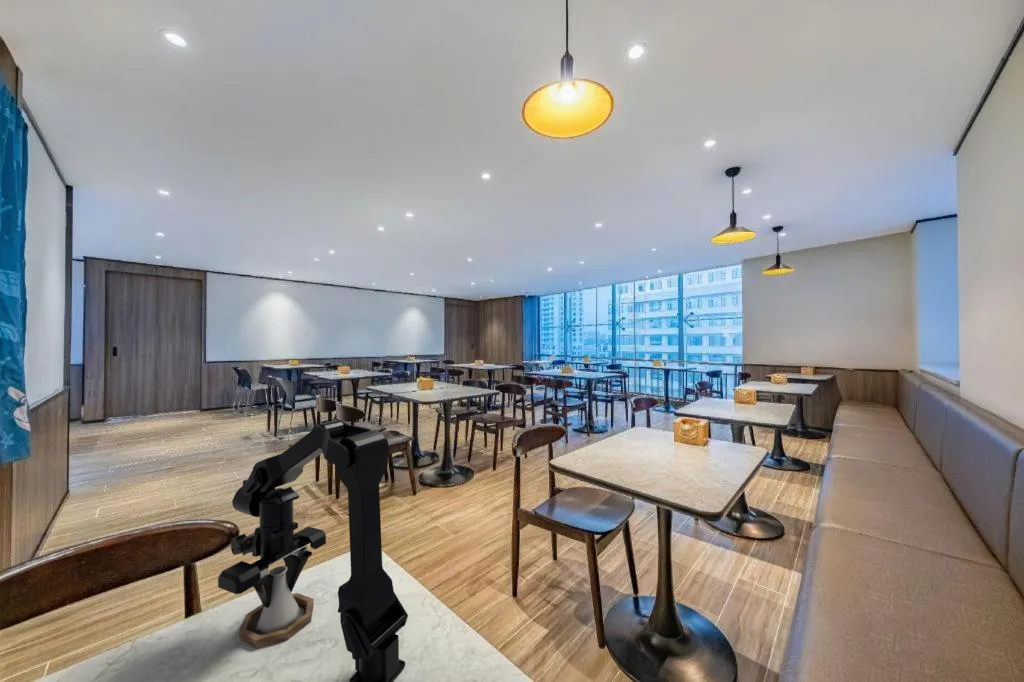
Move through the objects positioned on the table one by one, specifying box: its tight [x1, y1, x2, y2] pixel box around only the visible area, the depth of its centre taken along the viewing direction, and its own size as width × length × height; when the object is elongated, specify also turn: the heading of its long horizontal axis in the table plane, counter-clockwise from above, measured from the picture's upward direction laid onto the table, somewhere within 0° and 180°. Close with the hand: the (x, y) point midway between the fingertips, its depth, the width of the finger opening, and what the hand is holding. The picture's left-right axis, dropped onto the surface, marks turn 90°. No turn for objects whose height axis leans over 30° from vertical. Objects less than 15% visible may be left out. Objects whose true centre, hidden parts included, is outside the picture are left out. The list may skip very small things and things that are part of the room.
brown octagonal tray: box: [238, 592, 315, 649], centre depth 76 cm, size 12×12×2 cm
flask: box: [256, 565, 300, 633], centre depth 76 cm, size 7×7×10 cm
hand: (278, 599), depth 76 cm, fingers open, 4 cm apart
